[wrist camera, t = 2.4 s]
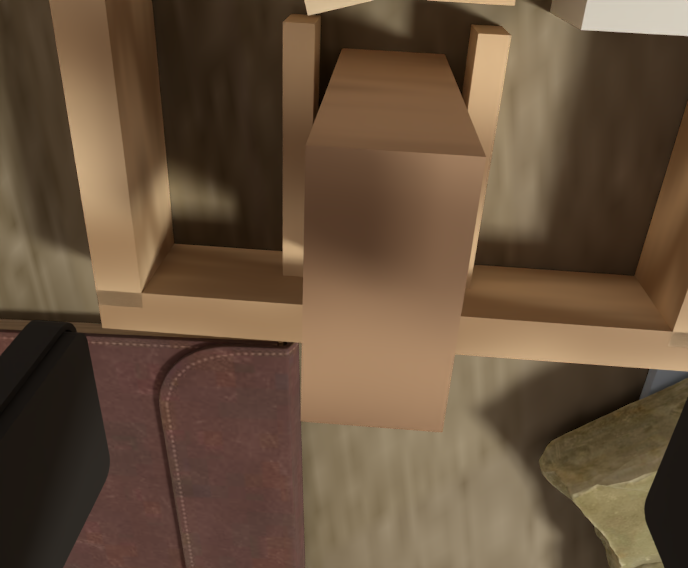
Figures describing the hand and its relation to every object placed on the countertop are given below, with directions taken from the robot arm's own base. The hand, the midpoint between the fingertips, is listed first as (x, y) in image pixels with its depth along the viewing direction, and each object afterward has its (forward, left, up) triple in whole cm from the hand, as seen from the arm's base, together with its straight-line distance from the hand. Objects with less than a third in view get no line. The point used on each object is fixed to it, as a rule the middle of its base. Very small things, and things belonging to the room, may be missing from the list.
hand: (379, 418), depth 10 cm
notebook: (-19, +10, -16) cm, 27 cm away
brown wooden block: (-1, 0, -15) cm, 15 cm away
